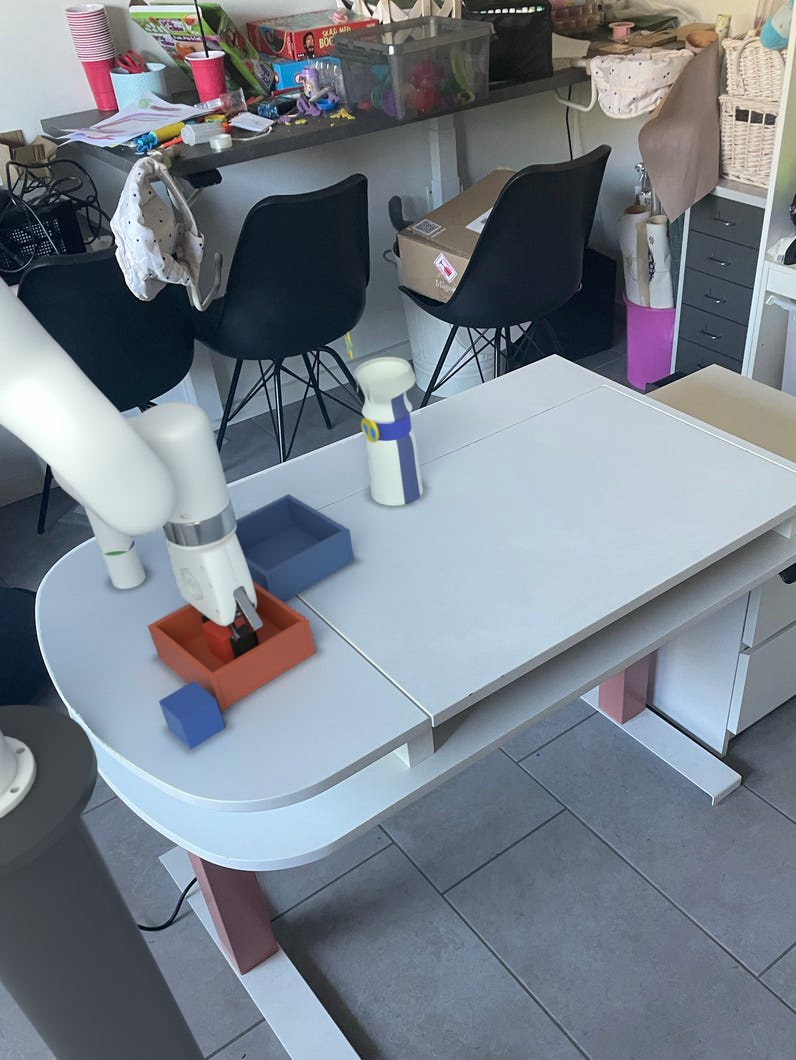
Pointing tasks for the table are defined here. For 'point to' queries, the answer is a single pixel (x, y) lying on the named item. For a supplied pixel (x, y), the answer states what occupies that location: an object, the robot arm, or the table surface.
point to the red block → (221, 639)
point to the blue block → (192, 714)
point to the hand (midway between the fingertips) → (234, 646)
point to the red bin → (278, 652)
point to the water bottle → (389, 429)
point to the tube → (118, 554)
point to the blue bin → (292, 546)
